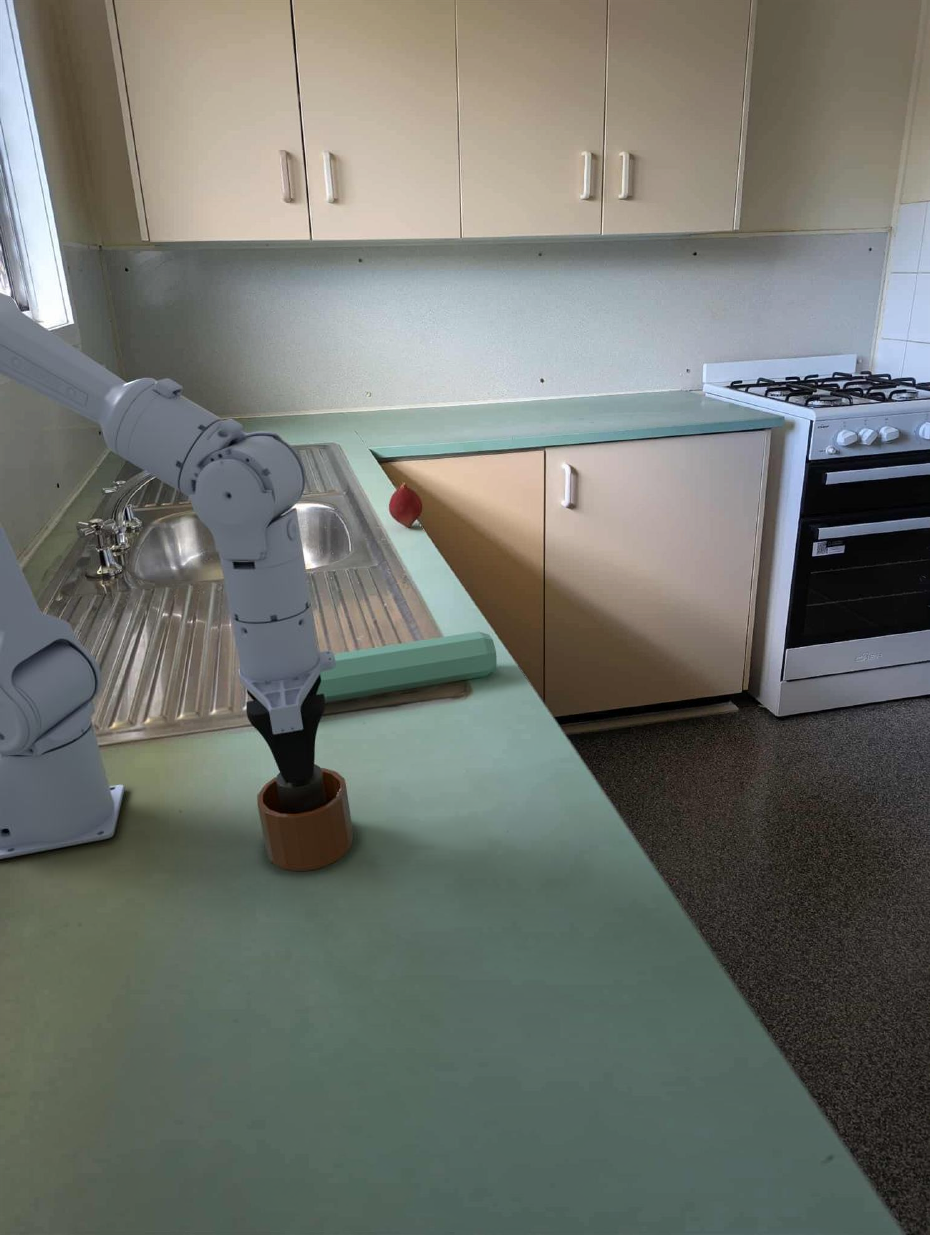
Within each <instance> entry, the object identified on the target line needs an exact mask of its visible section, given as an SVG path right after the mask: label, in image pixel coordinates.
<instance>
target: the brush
mask: <svg viewBox="0 0 930 1235" xmlns="http://www.w3.org/2000/svg"><path fill="white" fill-rule="evenodd" d="M321 768H322V767H321V766H319V765H318V764H315V763H314V772H313V777H312V779H309V780H303V781H298V782H293V783H286V782H285V781H284V779H283V777H282V775H281V773H280V771H279V772H278V773H277V774H276V776H277V777H276V776H275V777H276V783H277V789H278V795H279V800H280V806H281V811H282V814H299V813H304V812H310V811H313V810H316V809H318V808H320V807H323V806H325V805H327V798H326V792H325V785H324V779H323V773H322V769H321Z"/></svg>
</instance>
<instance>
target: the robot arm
mask: <svg viewBox="0 0 930 1235" xmlns="http://www.w3.org/2000/svg"><path fill="white" fill-rule="evenodd" d="M0 375H2V376H4V377H6V378H7V379H9V380H12V381H14V382H16V383H18V384H20V385H22V386H24V387H26V388H27V389H29V390H31V391H34V392H36V393H37V394H39V395H41V396H43V397H45V398H47V399H49V400H50V401H52V402H55V403H57V404H59V405H61V406H62V407H65V408H66V409H68V410H70V411H72V412H74V413H76V414H78V415H80V416H81V417H84V418H86V419H88V420H90V421H92V422H93V423H96V424H98V425H100V428H101V432H102V435H103V439H104V442H105V444H106V447H107V448H108V449H109V450H110V451H111V452H112V453H113V454H116V455H117V456H119V457H121V458H122V459H124V460H125V461H127V462H129V463H131V464H132V465H134V466H136V467H138V468H139V469H141V470H142V471H144V472H146V473H147V474H149V475H151V476H153V477H154V478H156V479H157V480H159V481H161V482H163V483H165V484H166V485H168V486H170V487H171V488H173V489H175V490H176V491H178V492H180V493H182V494H183V495H185V496H187V498H189V502H190V504H191V507H192V509H193V511H194V513H195V515H196V516H197V518H198V519H199V520H200V521H201V522H202V524H203V525H204V526H205V527H206V528H208V530H209V531H210V533H211V535H212V538H213V542H214V548H215V551H216V553H218V555H219V560H220V567H221V571H222V577H223V582H224V587H225V593H226V600H227V603H228V604H227V605H228V609H229V614H230V619H231V620H230V621H231V626H232V631H233V636H234V640H235V647H236V652H237V656H238V657H237V658H238V662H239V666H238V671H237V672H238V679H239V683H240V684H241V685H242V686H243V687H244V688H245V689H246V693H247V695H248V696H249V697H250V698H251V700H248V701H246V702H245V703H246V704H245V706H246V707H245V708H246V717H247V720H248V721H249V724H251V726H252V727H253V728H254V729H255V730H256V731H257V732H258V733H259V734H260V735H261V737H262V738H263V739H264V741H265V743H266V744H267V747H269V748H268V749H269V750H270V751H271V754H272V757H273V759H274V761H275V763H276V766H277V769H278V771H279V772H280V773H281V775H282V777H283V779H284V781H285V782H286V783H293V782H298V781H303V780H309V779H312V777H313V772H314V764H315V760H316V759H315V757H316V739H317V732H318V728H319V724H320V722H321V719H322V717H323V715H324V713H325V708H326V703H325V697H324V694H318V695H316V694H317V691H318V688H319V685H320V683H321V675H320V673H321V672H322V671H324V670H330V669H333V668H335V666H336V662H335V656H334V654H335V652H333V651H332V650H323V651H319V650H318V642H317V637H316V629H315V623H314V622H315V621H314V616H313V610H312V604H311V602H312V601H311V595H310V594H311V593H310V588H309V587H310V586H309V581H308V574H307V569H306V568H307V567H306V560H305V554H304V547H303V541H302V537H301V530H300V523H299V515H298V510H297V508H296V507H294V506H295V505H296V504H298V502H299V501H300V500H301V498H302V496H303V494H304V492H305V489H306V484H307V483H306V482H307V477H306V476H307V475H306V470H305V466H304V463H303V461H302V459H301V457H300V455H299V453H298V452H297V450H295V449H294V448H293V446H292V445H291V444H290V443H288V442H287V441H285V440H284V439H283V438H282V437H281V436H280V435H279V434H278V433H277V432H273V431H267V430H259V431H253V432H249V433H248V432H245V431H243V425H242V423H240V422H239V421H237V420H235V419H234V418H231V417H230V418H228V419H225V420H224V419H223V418H221V417H220V416H218V415H216V414H214V413H213V412H211V411H209V410H208V409H206V408H204V407H202V406H201V405H199V404H197V403H196V402H194V401H192V400H190V399H189V398H187V397H186V396H183V395H182V392H183V388H184V387H183V385H182V384H179V383H178V382H176V381H174V380H173V379H171V378H168V377H167V378H163V379H160V380H156V379H155V378H152V377H142V378H138V379H135V380H133V381H129V382H126V380H123V379H122V378H121V377H119V376H118V375H116V374H115V373H113V372H111V371H110V370H109V369H107V368H106V367H104V366H102V365H101V364H100V363H98V362H97V361H95V360H94V359H92V358H91V357H90V356H88V355H86V354H85V353H83V352H81V351H80V350H79V349H77V348H75V347H74V346H73V345H71V344H70V343H69V342H67V341H65V339H62V338H61V337H60V336H58V335H56V334H55V333H53V332H52V331H50V330H49V329H48V328H46V327H44V326H43V325H42V324H40V323H38V322H37V321H36V320H34V319H32V318H31V317H30V316H28V315H27V314H25V313H23V312H22V311H21V309H20V307H19V306H18V304H17V302H16V301H15V299H14V298H13V297H12V296H10V295H7V294H4V293H2V292H0ZM102 679H103V678H102V673H101V669H100V666H99V665H98V662H97V660H96V659H95V657H94V656H93V655H92V654H91V652H90V651H89V650H88V649H87V648H86V647H85V646H84V645H83V644H82V643H81V642H80V641H79V639H78V638H77V636H76V634H75V632H74V629H73V628H72V625H71V623H70V622H68V621H66V620H64V619H61V618H58V617H55V616H53V615H49V614H47V613H45V612H42V611H41V609H40V607H39V605H38V603H37V601H36V598H35V596H34V594H33V591H32V589H31V587H30V585H29V583H28V581H27V578H26V576H25V574H24V572H23V569H22V568H21V565H20V563H19V560H18V558H17V556H16V554H15V552H14V549H13V546H11V543H10V541H9V538H8V536H7V534H6V532H5V529H4V527H3V526H2V523H1V522H0V860H3V859H8V858H13V857H19V856H24V855H29V854H34V853H39V852H45V851H51V850H55V849H61V848H66V847H71V846H72V847H73V846H77V845H82V844H87V843H92V842H98V841H102V840H103V841H104V840H108V839H110V838H112V837H113V836H114V835H115V831H116V827H117V823H118V818H119V815H120V811H121V807H122V806H121V805H122V802H123V798H124V794H125V786H124V785H123V784H117V785H110V783H109V780H108V776H107V773H106V768H105V765H104V761H103V758H102V754H101V750H100V745H99V742H98V739H97V734H96V732H95V728H94V724H93V721H92V720H93V719H92V716H93V715H94V714H95V712H96V710H95V705H94V702H93V700H94V699H95V698H96V697H97V696H98V694H99V693H100V691H101V688H102Z"/></svg>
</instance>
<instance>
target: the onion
mask: <svg viewBox="0 0 930 1235" xmlns="http://www.w3.org/2000/svg"><path fill="white" fill-rule="evenodd" d="M388 511H389V514H390V516H391V517H392V519H393V520H394V521H396V522H397V523H399V524H401V525H402V526H404V527H405V528H411V527H412V525H413V524H414V523H415V522H416V521H417V520H418V519H419V517H420V516H421V514H422V512H423V501H422V499H421V497H420V496H419V494H418V493H416V491H414V490H413V489H412V488H410V487H408V485H407V482H402V484H401V485H400V486H399V487H398V489H396V490H395V491H394V492H393V494H392V495H391V497H390V499H389V504H388Z"/></svg>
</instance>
